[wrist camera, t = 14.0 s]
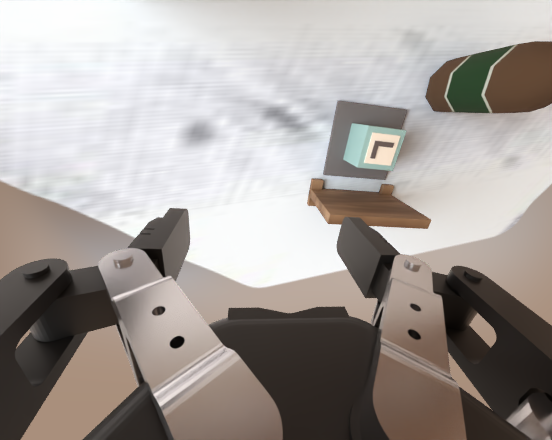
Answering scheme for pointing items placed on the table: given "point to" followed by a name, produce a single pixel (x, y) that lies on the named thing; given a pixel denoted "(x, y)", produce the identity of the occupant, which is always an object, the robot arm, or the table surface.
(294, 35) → the table surface
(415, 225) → the wooden footed board
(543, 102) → the beer bottle
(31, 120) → the table surface
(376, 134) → the letter cube
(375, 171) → the mat
